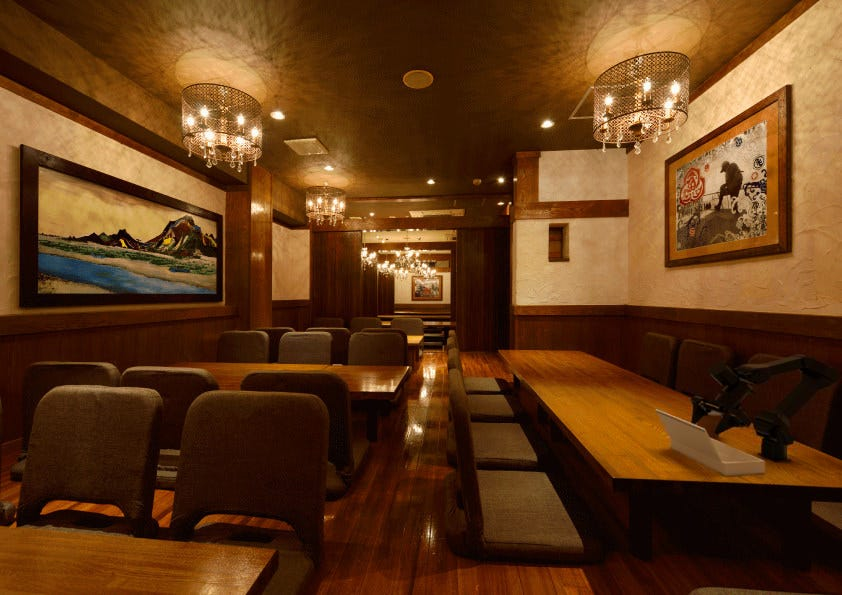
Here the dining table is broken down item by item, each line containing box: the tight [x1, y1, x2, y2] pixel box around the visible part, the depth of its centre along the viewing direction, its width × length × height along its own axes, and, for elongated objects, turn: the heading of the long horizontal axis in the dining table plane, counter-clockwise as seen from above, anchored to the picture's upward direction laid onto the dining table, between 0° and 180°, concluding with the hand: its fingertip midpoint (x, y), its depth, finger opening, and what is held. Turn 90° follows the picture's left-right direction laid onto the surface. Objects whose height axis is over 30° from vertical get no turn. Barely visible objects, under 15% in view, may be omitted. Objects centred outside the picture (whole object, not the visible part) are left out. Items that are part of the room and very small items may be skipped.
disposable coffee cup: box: [696, 411, 722, 441], centre depth 151 cm, size 10×10×12 cm
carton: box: [669, 437, 766, 477], centre depth 130 cm, size 14×22×4 cm, turn 7°
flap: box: [655, 408, 722, 462], centre depth 129 cm, size 12×21×1 cm
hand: (703, 429), depth 130 cm, fingers open, 9 cm apart
